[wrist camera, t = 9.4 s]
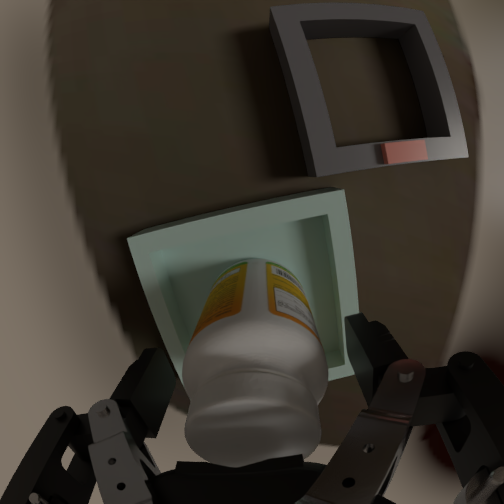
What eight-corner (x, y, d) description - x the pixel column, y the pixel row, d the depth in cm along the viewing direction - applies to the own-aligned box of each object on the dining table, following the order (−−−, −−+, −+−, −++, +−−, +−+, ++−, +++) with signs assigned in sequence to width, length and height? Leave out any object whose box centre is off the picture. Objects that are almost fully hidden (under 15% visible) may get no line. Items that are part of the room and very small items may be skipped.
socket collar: (268, 27, 12) (270, 2, 10) (406, 25, 12) (426, 8, 9) (308, 176, 15) (319, 177, 12) (445, 157, 14) (473, 157, 11)
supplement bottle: (213, 339, 17) (177, 475, 8) (207, 255, 15) (140, 370, 6) (301, 340, 17) (327, 478, 7) (307, 256, 15) (366, 374, 6)
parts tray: (144, 229, 16) (126, 238, 14) (331, 186, 15) (344, 189, 13) (197, 377, 19) (190, 400, 16) (351, 351, 18) (360, 372, 15)
